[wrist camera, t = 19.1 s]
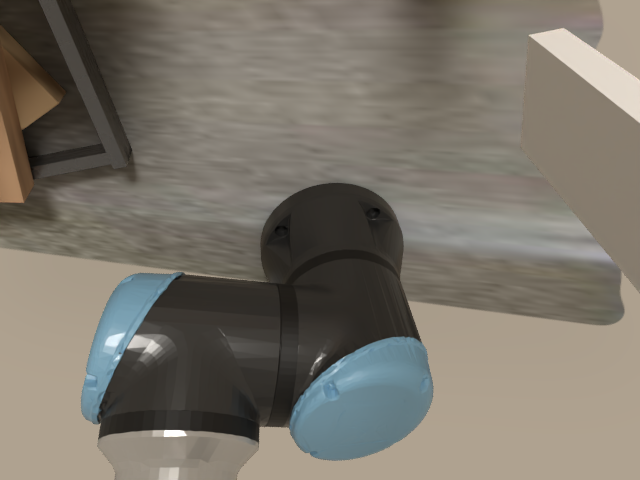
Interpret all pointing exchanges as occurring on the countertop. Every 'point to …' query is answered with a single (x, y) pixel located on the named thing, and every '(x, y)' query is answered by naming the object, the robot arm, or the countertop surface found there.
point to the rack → (94, 98)
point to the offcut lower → (28, 82)
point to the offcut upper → (12, 145)
